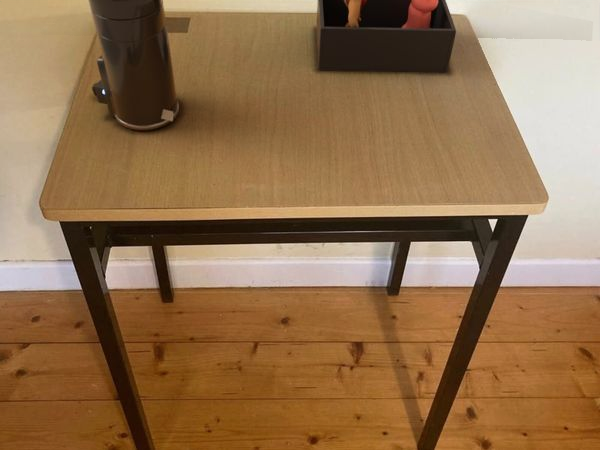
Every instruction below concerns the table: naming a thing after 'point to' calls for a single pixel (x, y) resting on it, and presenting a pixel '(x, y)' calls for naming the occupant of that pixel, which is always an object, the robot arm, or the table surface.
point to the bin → (383, 38)
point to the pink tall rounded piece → (420, 13)
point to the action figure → (354, 11)
